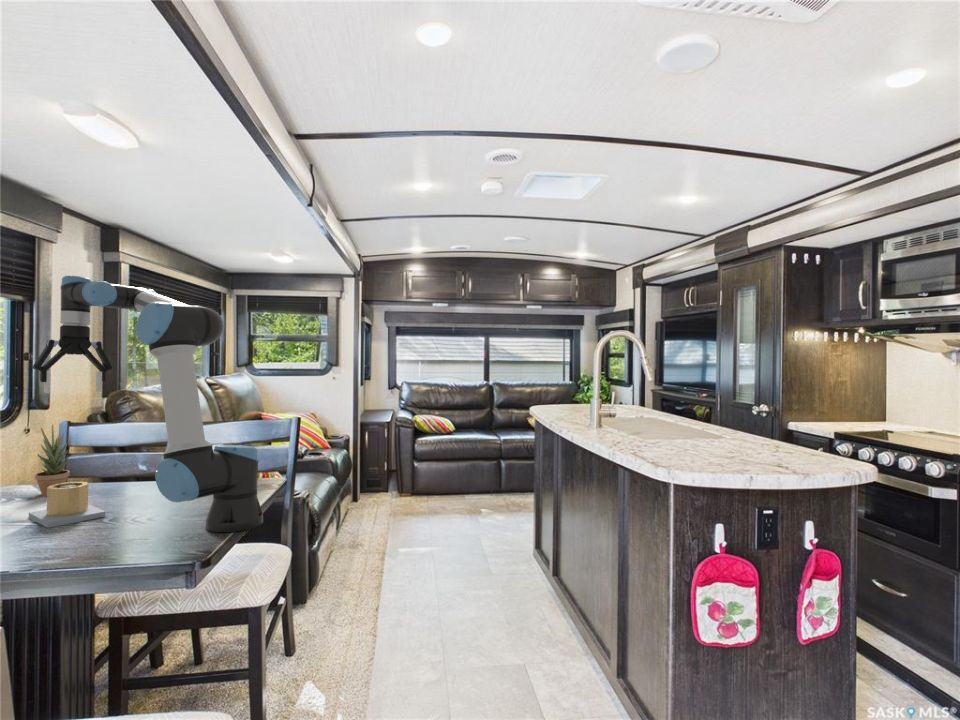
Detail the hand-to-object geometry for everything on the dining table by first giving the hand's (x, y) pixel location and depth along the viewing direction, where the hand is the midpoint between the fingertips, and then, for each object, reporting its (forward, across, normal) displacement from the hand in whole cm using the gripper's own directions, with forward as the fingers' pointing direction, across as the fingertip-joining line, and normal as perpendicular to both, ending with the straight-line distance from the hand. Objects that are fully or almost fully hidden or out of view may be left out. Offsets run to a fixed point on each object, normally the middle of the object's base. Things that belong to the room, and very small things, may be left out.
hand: (73, 392), depth 165 cm
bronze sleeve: (+35, +4, +10) cm, 37 cm away
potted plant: (+37, -3, -27) cm, 46 cm away
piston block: (+37, +4, +10) cm, 38 cm away
